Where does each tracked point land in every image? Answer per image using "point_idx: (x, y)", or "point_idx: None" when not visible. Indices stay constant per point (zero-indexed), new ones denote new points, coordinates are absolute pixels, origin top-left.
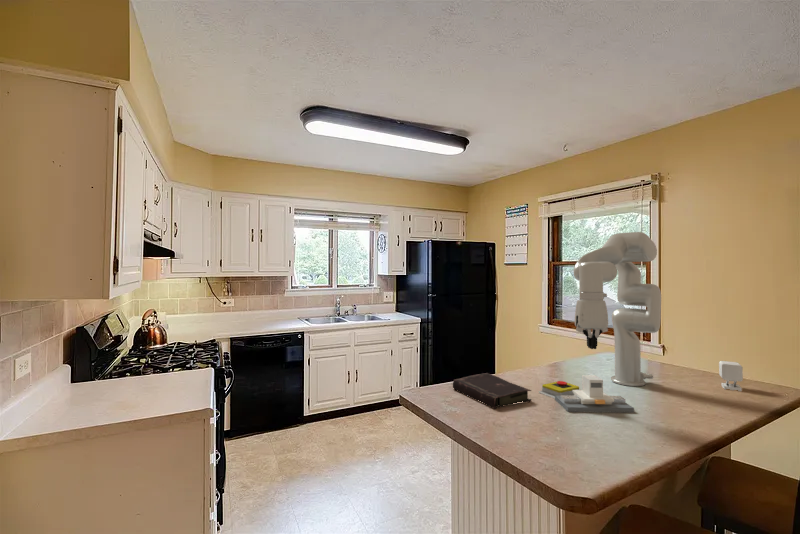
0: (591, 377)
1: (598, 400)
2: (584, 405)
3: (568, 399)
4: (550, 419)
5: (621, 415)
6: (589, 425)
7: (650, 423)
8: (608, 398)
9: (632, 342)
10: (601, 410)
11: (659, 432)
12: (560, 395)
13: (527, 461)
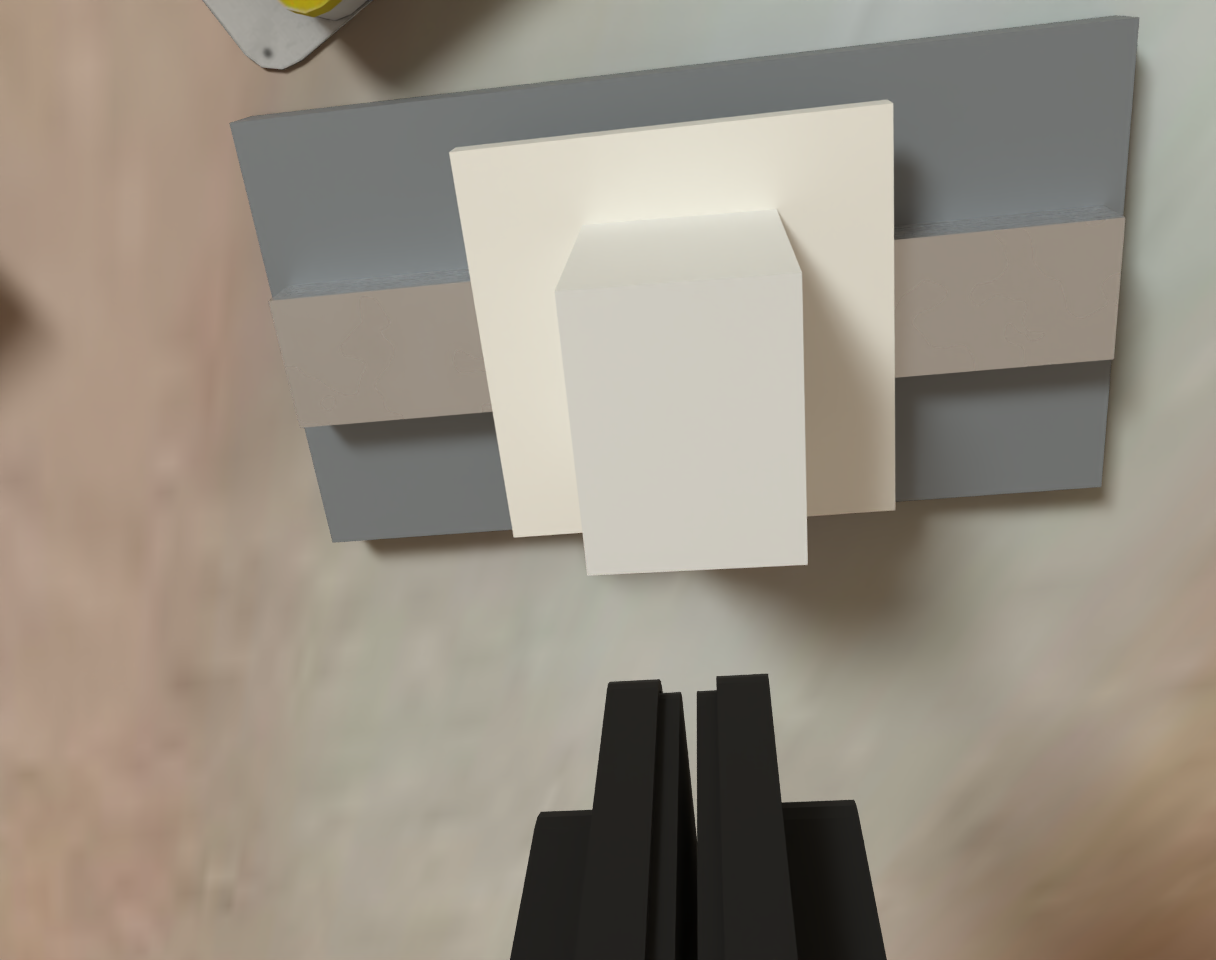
0: (673, 432)
1: None
2: None
3: (355, 419)
4: (160, 712)
5: (885, 560)
6: (475, 800)
7: (1060, 721)
8: (837, 482)
9: None
10: None
11: (1007, 878)
12: (327, 17)
13: None
